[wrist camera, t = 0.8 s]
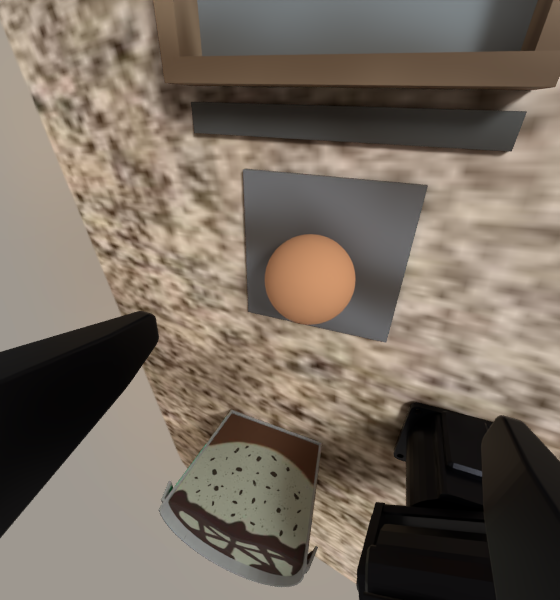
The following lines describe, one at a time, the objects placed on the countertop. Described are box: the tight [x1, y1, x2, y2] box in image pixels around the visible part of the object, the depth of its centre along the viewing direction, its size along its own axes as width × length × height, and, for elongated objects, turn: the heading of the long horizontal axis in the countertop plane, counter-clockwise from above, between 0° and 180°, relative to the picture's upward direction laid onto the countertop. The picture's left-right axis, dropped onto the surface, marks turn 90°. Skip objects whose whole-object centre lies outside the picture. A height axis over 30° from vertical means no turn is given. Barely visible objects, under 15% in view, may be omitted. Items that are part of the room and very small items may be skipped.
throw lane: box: [153, 0, 560, 342], centre depth 14 cm, size 28×16×2 cm, turn 179°
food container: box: [159, 410, 322, 587], centre depth 28 cm, size 12×6×10 cm, turn 85°
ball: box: [265, 234, 356, 325], centre depth 17 cm, size 5×5×5 cm
